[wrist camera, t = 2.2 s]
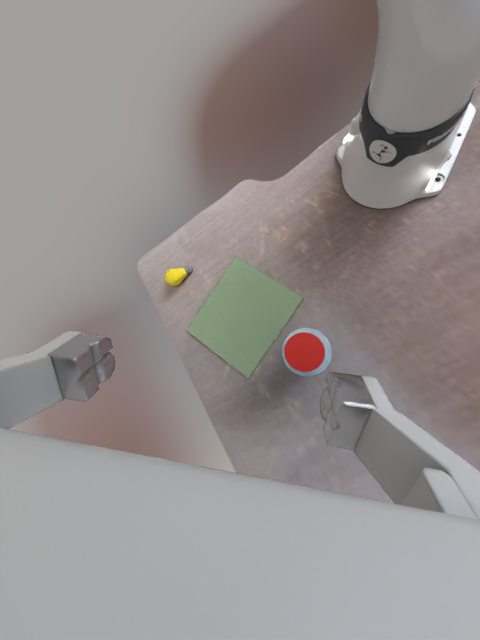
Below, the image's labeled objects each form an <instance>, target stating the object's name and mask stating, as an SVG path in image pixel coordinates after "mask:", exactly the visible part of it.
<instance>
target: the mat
mask: <svg viewBox="0 0 480 640" xmlns="http://www.w3.org/2000/svg"><path fill="white" fill-rule="evenodd" d="M303 299H304V298H303V297H301V296H300V295H298V294H296V293H295V292H293V291H291V290H290V289H288V288H287V287H285V286H283V285H282V284H280V283H278V282H277V281H275V280H273V279H272V278H270V277H269V276H267V275H265V274H264V273H262V272H260V271H259V270H257V269H256V268H254V267H252V266H251V265H249V264H247V263H246V262H244V261H243V260H241V259H239V258H238V257H236V256H235V258H234V259H233V261H232V262H231V264H230V265H229V267H228V268H227V270H226V271H225V273H224V274H223V276H222V277H221V279H220V280H219V282H218V283H217V285H216V286H215V288H214V289H213V291H212V292H211V294H210V295H209V297H208V298H207V300H206V301H205V303H204V304H203V306H202V307H201V309H200V310H199V312H198V313H197V315H196V316H195V318H194V319H193V321H192V322H191V324H190V325H189V327H188V328H187V331H188V332H189V333H191V334H192V335H193V336H194V337H196V338H197V339H198V340H199V341H201V342H202V343H203V344H205V345H206V346H207V347H208V348H210V349H211V350H212V351H213V352H215V353H216V354H217V355H218V356H220V357H221V358H222V359H223V360H225V361H226V362H227V363H229V364H230V365H231V366H232V367H234V368H235V369H236V370H237V371H239V372H240V373H241V374H242V375H244V376H245V377H246V378H249V377H250V375H251V374H252V373H253V371H254V370H255V368H256V367H257V365H258V364H259V362H260V361H261V360H262V358H263V357H264V355H265V354H266V352H267V351H268V349H269V348H270V347H271V345H272V344H273V342H274V341H275V339H276V338H277V337H278V335H279V334H280V332H281V331H282V329H283V328H284V326H285V325H286V324H287V322H288V321H289V319H290V318H291V316H292V315H293V313H294V312H295V311H296V309H297V308H298V306H299V305H300V303H301V302H302V301H303Z"/></svg>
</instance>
